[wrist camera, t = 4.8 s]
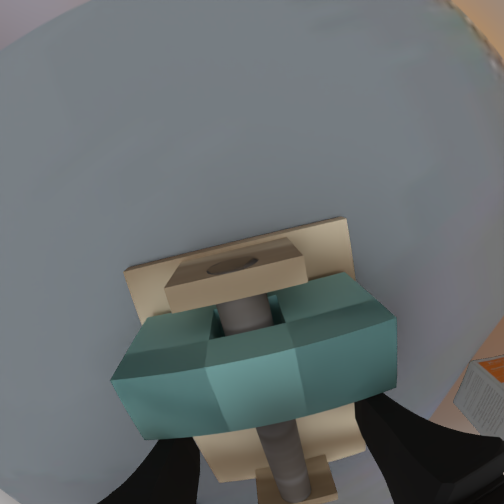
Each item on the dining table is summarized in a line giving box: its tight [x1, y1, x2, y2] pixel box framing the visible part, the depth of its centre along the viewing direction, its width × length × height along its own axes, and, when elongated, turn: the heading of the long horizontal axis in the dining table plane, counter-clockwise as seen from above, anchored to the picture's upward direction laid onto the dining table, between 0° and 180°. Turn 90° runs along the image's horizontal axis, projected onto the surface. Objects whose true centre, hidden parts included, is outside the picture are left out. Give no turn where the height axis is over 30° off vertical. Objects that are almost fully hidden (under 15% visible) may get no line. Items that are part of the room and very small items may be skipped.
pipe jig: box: [123, 217, 365, 504], centre depth 15 cm, size 17×11×5 cm, turn 13°
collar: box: [110, 272, 397, 440], centre depth 12 cm, size 3×10×5 cm, turn 103°
